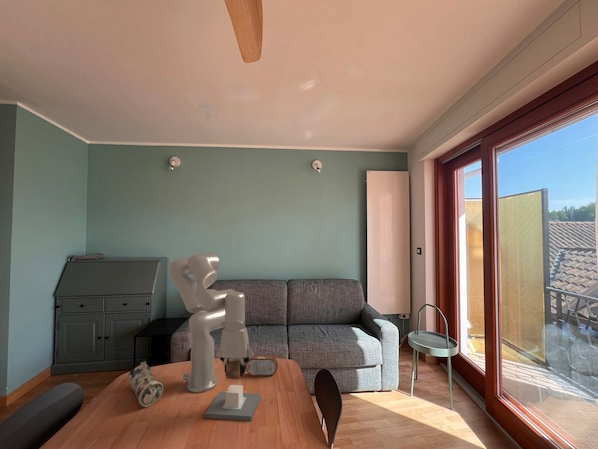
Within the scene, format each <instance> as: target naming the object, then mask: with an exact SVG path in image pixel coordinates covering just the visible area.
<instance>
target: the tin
mask: <svg viewBox="0 0 598 449" xmlns="http://www.w3.org/2000/svg"><path fill="white" fill-rule="evenodd" d="M278 368H279V362H278V360H277V358H275V357H274V356H271V355H254V356H253V357H252V358H251V359H249V360H248V361H247V362H246V371H245V372H247V373H248V374H249V375H250V376H255V377H271V376H274V375H275V374H276V373H277V370H278Z"/></svg>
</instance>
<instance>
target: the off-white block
mask: <svg viewBox="0 0 598 449" xmlns="http://www.w3.org/2000/svg"><path fill="white" fill-rule="evenodd" d="M225 392H226V399H225V406H227V407H239V405H240V403H241V402H242V400H243V393H244V385H242V384H241V385H240V384H239V385H238V384H230V385H229V386H228V388H227V389H226V390H225Z"/></svg>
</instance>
